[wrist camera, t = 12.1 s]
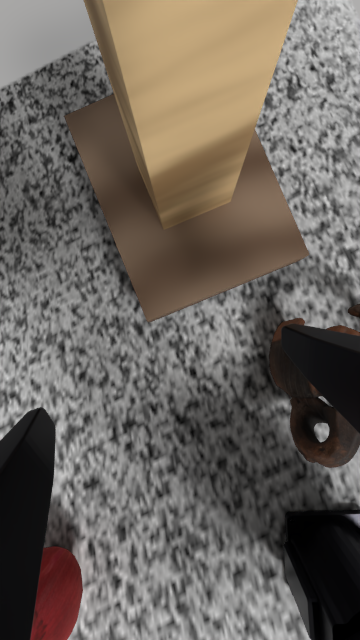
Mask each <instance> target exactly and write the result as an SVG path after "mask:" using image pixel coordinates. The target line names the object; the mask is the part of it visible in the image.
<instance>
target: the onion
mask: <svg viewBox="0 0 360 640" xmlns="http://www.w3.org/2000/svg"><path fill="white" fill-rule="evenodd" d="M82 592H83V587H82V576H81V569H80V566H79V564H78V562H77V560H76V558H75V556H74V555H73V554H72V553H71V552H70V551H68V550H67V549H64V548H61V547H47V548H44V549H43V555H42V562H41V569H40V576H39V583H38V590H37V597H36V604H35V611H34V618H33V625H32V632H31V639H30V640H67V639H68V637H69V636H70V634H71V632H72V630H73V628H74V626H75V623H76V621H77V618H78V613H79V608H80V603H81V598H82Z"/></svg>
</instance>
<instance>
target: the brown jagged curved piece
mask: <svg viewBox="0 0 360 640" xmlns="http://www.w3.org/2000/svg"><path fill="white" fill-rule="evenodd" d="M348 313H349V314H350V315H353V316H356V317H359V318H360V304H358V305H355V306H353V307H351V308H349V309H348ZM291 323H294V324H299V325H304V323H305V321H304V320H303V319H302V318H296V319H293V320H289V321H284V322H282V323H281V324H280V325H279V326H278V328H277V330H276V332H275V334H274V337H273V339H272V343H271V347H270V354H269V361H270V364H269V366H270V371H271V374H272V376H273V379H274V381H275V383H276V385H277V386H278V387H280V388H281V389H283V390H284V391H285V392H286V393H287V394H289V396H290V397H292V398H291V400H290V402H291V406H292V409H291V416H290V428H291V433H292V437H293V440H294V443H295V445H296V447H297V448H298V450H299V452H300V453H301V454H302V455H303V456H304V457H305V459H306V460H307V461H309V462H312V463H315V462H318V463H319V464H322V465H323V466H325V467H329V468H332V467H338V466H342V465H344V464H346V463H348V462H349V461H350V460H351V459H352V458H353V456H354V455H355V453H356V452H357V450H358V447H359V445H360V434H359V433H358V432H357V431H356V430H355V428H354V427H353V426H352V425H351V424H350V423H349V422H348V421H347V420H346V419H345V418H344V417H343V416H342V415H341V414H340V413H339V412H338V411H337V410H336V409H335V408H334V407H331V406H328V405H327V404H326V403H325V402H324V401H322V400H321V399H320V398H318V397H319V396H322V395H321V393H320V392H319V391H318V390H317V389H316V388H315V387H314V386H313V385H312V384H311V383H310V382H309V381H308V380H307V379H306V378H305V376H304V375H303V374H302V373H301V371H300V370H299V369H298V368H297V366H296V365H295V364H294V363H293V361H292V360H291V359H290V358H289V356H288V355H287V354H286V353H285V351H284V350H283V348H282V346H281V329H282V327H283V326H285V325H288V324H291ZM326 330H331V331H336V332H342V333H347V334H352V335H358V336H360V332H358V331H356V330H354V329H351V328H348V327H345V326H342V325H338V326H333V327H330V328H327V329H326ZM317 423H328V425H329V436H328V438H327V439H326V440H325V441H324V442H321V443H320V442H319V440H318V439H317V437H316V436H315V433H314V426H315V425H316V424H317Z"/></svg>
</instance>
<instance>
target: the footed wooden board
mask: <svg viewBox="0 0 360 640" xmlns="http://www.w3.org/2000/svg"><path fill="white" fill-rule="evenodd" d="M64 117H65V120H66V122H67V125H68V127H69V130H70V132H71V135H72V137H73V140H74V142H75V144H76V147H77V149H78V152H79V154H80V157H81V159H82V162H83V164H84V167H85V169H86V172H87V174H88V177H89V179H90V181H91V184H92V186H93V189H94V191H95V194H96V196H97V199H98V201H99V204H100V206H101V209H102V211H103V214H104V216H105V218H106V221H107V223H108V226H109V228H110V231H111V233H112V236H113V238H114V241H115V243H116V246H117V248H118V251H119V253H120V255H121V258H122V260H123V263H124V265H125V268H126V270H127V273H128V275H129V278H130V280H131V283H132V285H133V288H134V290H135V293H136V295H137V297H138V300H139V302H140V305H141V307H142V310H143V312H144V315H145V317H146V320H147V322H152V321H155V320H157V319H159V318H162V317H164V316H167V315H169V314H171V313H174V312H176V311H179V310H181V309H184V308H186V307H188V306H191V305H193V304H196V303H198V302H201V301H203V300H205V299H208V298H210V297H213V296H215V295H217V294H220V293H222V292H225V291H227V290H230V289H232V288H234V287H237V286H239V285H242V284H244V283H247V282H249V281H251V280H254V279H256V278H259V277H261V276H263V275H266V274H268V273H271V272H273V271H276V270H278V269H280V268H283V267H285V266H288V265H290V264H292V263H295V262H297V261H300V260H301V259H303V258H305V257H306V256H308V255H309V252H308V250H307V248H306V246H305V243H304V241H303V239H302V236H301V234H300V232H299V229H298V227H297V225H296V223H295V220H294V218H293V216H292V213H291V211H290V209H289V207H288V204H287V202H286V200H285V197H284V195H283V193H282V190H281V188H280V186H279V184H278V181H277V179H276V177H275V174H274V172H273V170H272V168H271V165H270V163H269V161H268V158H267V156H266V154H265V152H264V149H263V147H262V145H261V142H260V140H259V138H258V135H257V133H256V131H255V130H254V133H253V136H252V139H251V142H250V145H249V148H248V151H247V154H246V157H245V160H244V163H243V166H242V169H241V172H240V175H239V178H238V181H237V184H236V187H235V190H234V193H233V196H232V199H231V202H229V203H227V204H224V205H222V206H219V207H217V208H215V209H212V210H210V211H208V212H205V213H203V214H200V215H198V216H196V217H193V218H191V219H189V220H186V221H184V222H181V223H179V224H177V225H174V226H172V227H170V228H167V229H165V230H164V229H163V227H162V224H161V222H160V219H159V217H158V214H157V212H156V210H155V207H154V205H153V202H152V200H151V197H150V195H149V193H148V190H147V188H146V185H145V183H144V180H143V178H142V176H141V173H140V171H139V168H138V166H137V163H136V160H135V157H134V154H133V151H132V147H131V144H130V141H129V138H128V135H127V132H126V129H125V126H124V123H123V120H122V117H121V114H120V111H119V107H118V104H117V101H116V98H115V95H114V94H112V95H110V96H108V97H106V98H103V99H101V100H99V101H97V102H94V103H92V104H90V105H88V106H85V107H83V108H81V109H79V110H76V111H74V112H72V113H70V114H67V115H65V116H64Z"/></svg>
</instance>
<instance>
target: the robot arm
mask: <svg viewBox="0 0 360 640" xmlns="http://www.w3.org/2000/svg"><path fill="white" fill-rule="evenodd" d="M281 346H282V348H283V350H284V351H285V353H286V354H287V355H288V356H289V358H290V359H291V360H292V361H293V363H294V364H295V365H296V366H297V368H298V369H299V370H300V371H301V373H302V374H303V375H304V376H305V378H306V379H307V380H308V381H309V382H310V383H311V384H312V385H313V386H314V387H315V388H316V389H317V390H318V391H319V392H320V393H321V395H322V396H323V397H324V398H325V399H326V400H327V401H328V402H329V403H330V404H331V405H332V406H333V407H334V408H335V409H336V410H337V411H338V412H339V413H340V414H341V415H342V416H343V417H344V418H345V419H346V420H347V421H348V422H349V423H350V424H351V425H352V426H353V427H354V428H355V430H356V431H357V432H358V433H359V434H360V336H358V335H352V334H347V333H342V332H336V331H331V330H326V329H320V328H315V327H310V326H304V325H299V324H294V323H291V324H288V325H285V326H283V327H282V329H281ZM54 461H55V425H54V422H53V421H52V419H51V418H50V416H49V415H48V413H47V412H46V410H45V409H44V408H41V407H40V408H37V409H34V410H31V411H29V412H27V413H26V414H25V415H24V417H23V418H22V419H21V420H20V421H19V422H18V423H17V424H16V425H15V426H14V427H13V428H12V429H11V430H10V431H9V432H8V433H7V434H6V435H5V436H4V437H3V439H2V440H1V441H0V640H30V639H31V632H32V625H33V618H34V611H35V604H36V597H37V590H38V583H39V576H40V569H41V562H42V555H43V549H44V542H45V535H46V528H47V521H48V514H49V507H50V500H51V493H52V486H53V478H54ZM291 519H294V520H293V521H290V520H291ZM285 526H286V540H287V542H285V543H284V545H283V546H284V561H285V575H286V578H287V581H288V583H289V586H290V590H291V592H292V595H293V596H294V599H295V601H296V604H297V606H298V609H299V612H300V614H301V617H302V619H303V622H304V625H305V627H306V630H307V632H308V635H309V638H310V639H311V640H360V510H342V511H306V512H288V513H287V514H286V516H285Z"/></svg>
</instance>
